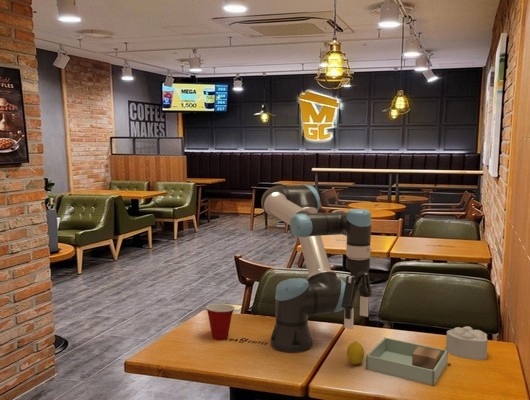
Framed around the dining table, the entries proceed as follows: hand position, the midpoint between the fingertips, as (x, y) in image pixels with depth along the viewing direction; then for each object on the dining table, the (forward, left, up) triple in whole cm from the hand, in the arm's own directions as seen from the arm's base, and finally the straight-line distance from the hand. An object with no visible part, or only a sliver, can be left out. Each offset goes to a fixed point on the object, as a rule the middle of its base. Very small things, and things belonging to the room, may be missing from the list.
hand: (356, 321), depth 161 cm
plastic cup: (-52, -4, -15) cm, 54 cm away
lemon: (0, 0, -15) cm, 15 cm away
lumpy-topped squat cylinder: (+29, +29, -15) cm, 43 cm away
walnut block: (+21, +7, -14) cm, 26 cm away
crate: (+15, +7, -15) cm, 22 cm away
